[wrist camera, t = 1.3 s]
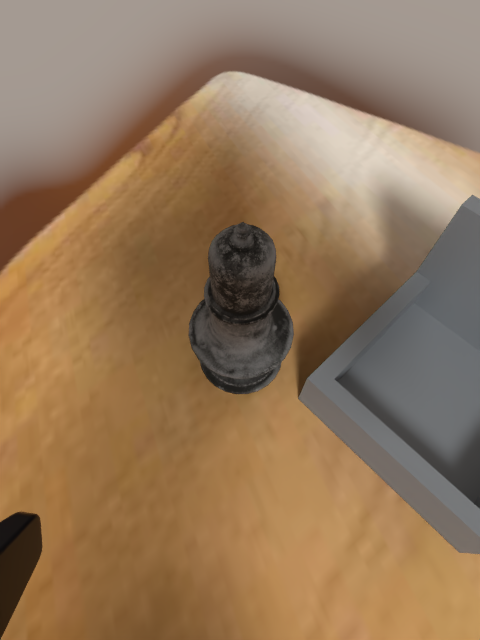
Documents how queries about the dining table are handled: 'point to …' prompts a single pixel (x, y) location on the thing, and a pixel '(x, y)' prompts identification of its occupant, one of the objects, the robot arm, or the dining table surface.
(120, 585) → the dining table surface
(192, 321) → the salt shaker
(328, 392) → the shaker rack
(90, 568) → the dining table surface
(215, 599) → the dining table surface
